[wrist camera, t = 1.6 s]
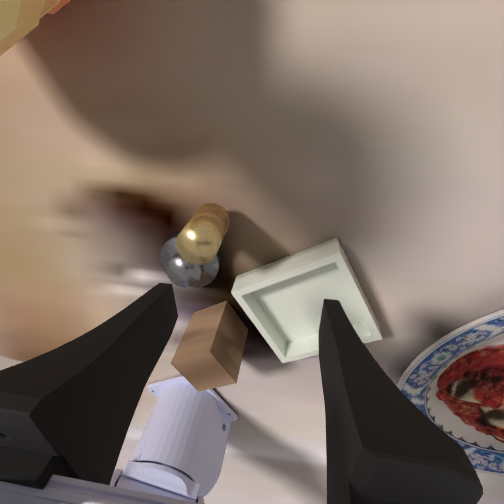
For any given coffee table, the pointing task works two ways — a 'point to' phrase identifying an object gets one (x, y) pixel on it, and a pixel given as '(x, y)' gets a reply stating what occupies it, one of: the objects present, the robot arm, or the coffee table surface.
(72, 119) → the coffee table surface
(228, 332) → the block
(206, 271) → the disc
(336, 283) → the tray
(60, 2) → the potted cactus
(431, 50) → the coffee table surface
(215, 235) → the brass cylinder knob
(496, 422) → the ceramic plate
